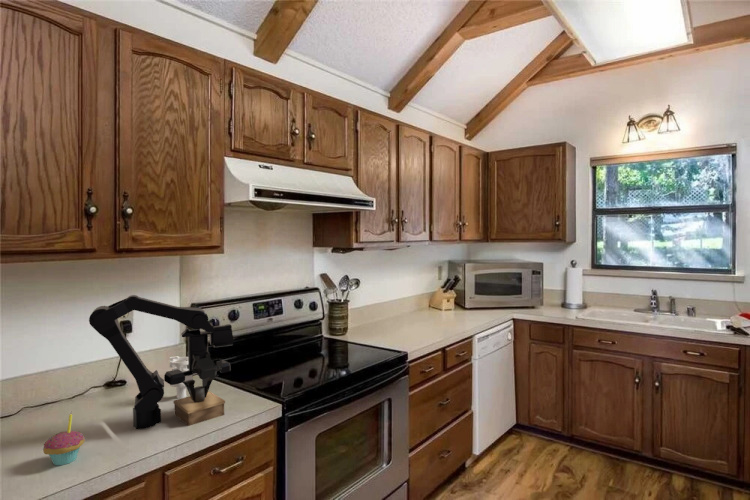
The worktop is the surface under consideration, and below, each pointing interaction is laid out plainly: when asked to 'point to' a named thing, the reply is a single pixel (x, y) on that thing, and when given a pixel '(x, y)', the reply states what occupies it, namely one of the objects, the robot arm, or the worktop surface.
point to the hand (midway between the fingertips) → (199, 398)
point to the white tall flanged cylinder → (181, 386)
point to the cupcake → (64, 445)
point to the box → (199, 414)
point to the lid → (198, 401)
